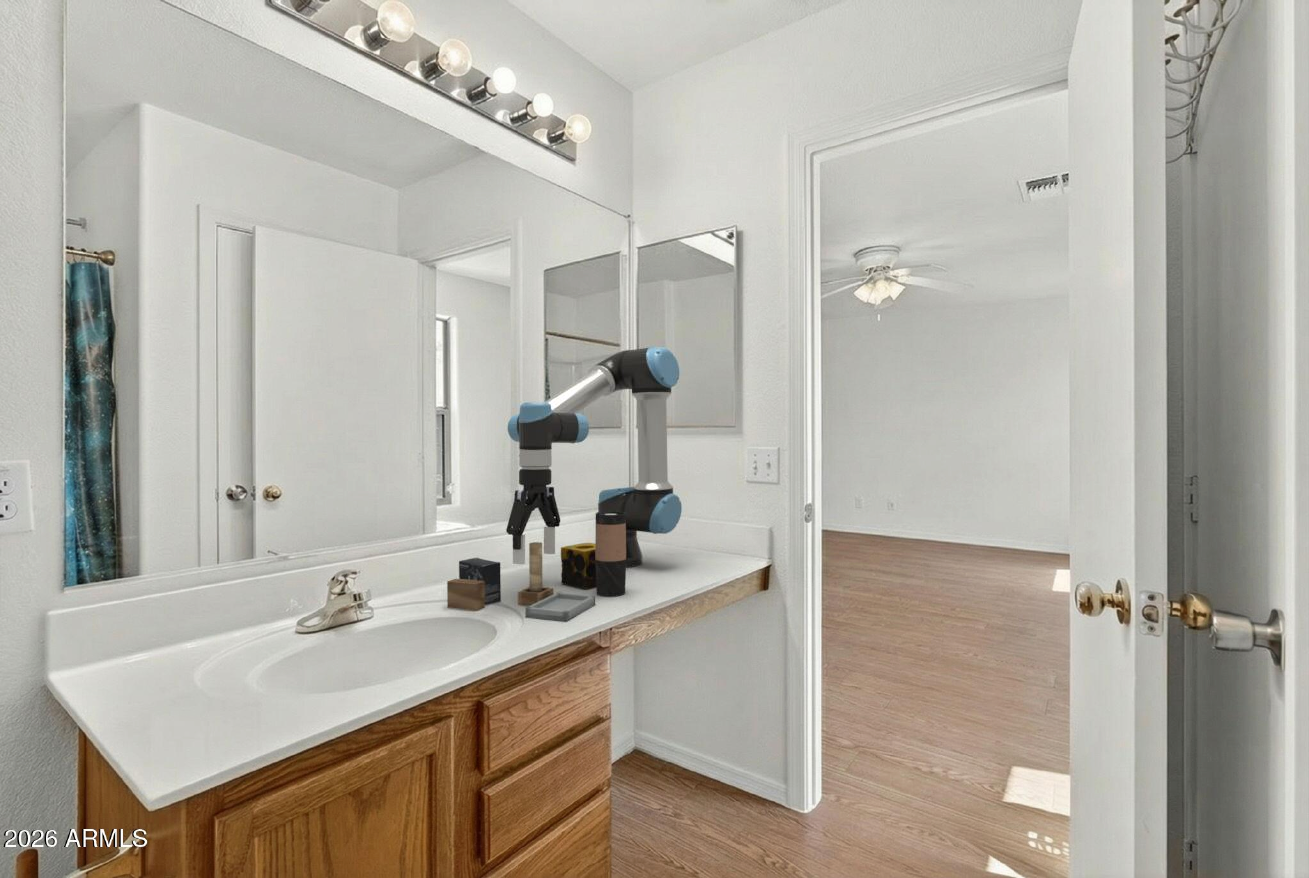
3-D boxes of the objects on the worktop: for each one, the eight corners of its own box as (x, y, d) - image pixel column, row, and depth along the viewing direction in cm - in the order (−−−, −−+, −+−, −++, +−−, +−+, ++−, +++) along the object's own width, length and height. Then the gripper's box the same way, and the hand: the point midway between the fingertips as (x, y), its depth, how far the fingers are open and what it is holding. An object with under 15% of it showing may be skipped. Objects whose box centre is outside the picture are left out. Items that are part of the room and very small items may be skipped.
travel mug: (621, 597, 152) (621, 515, 152) (591, 596, 154) (591, 514, 154) (629, 590, 160) (629, 511, 160) (600, 588, 161) (600, 510, 161)
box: (458, 600, 151) (457, 560, 151) (477, 595, 156) (477, 556, 155) (482, 606, 145) (481, 565, 145) (501, 601, 150) (501, 561, 150)
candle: (614, 583, 167) (614, 546, 167) (585, 590, 160) (585, 551, 160) (589, 577, 174) (589, 541, 174) (560, 584, 167) (560, 546, 167)
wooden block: (455, 604, 147) (455, 578, 147) (484, 607, 144) (484, 581, 144) (447, 607, 144) (447, 581, 144) (476, 610, 142) (476, 584, 142)
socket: (531, 598, 152) (531, 585, 152) (553, 600, 150) (553, 587, 150) (518, 604, 147) (518, 591, 147) (540, 606, 144) (540, 593, 144)
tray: (557, 600, 150) (557, 592, 150) (595, 604, 146) (595, 596, 146) (525, 617, 137) (525, 607, 137) (566, 621, 133) (566, 612, 133)
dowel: (533, 600, 150) (533, 541, 150) (544, 601, 149) (544, 542, 149) (527, 603, 147) (526, 544, 147) (538, 604, 146) (538, 544, 146)
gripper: (548, 465, 161) (547, 548, 161) (490, 470, 138) (489, 567, 138) (574, 466, 158) (573, 550, 158) (520, 470, 135) (519, 569, 135)
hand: (534, 558), depth 148 cm, fingers open, 13 cm apart
